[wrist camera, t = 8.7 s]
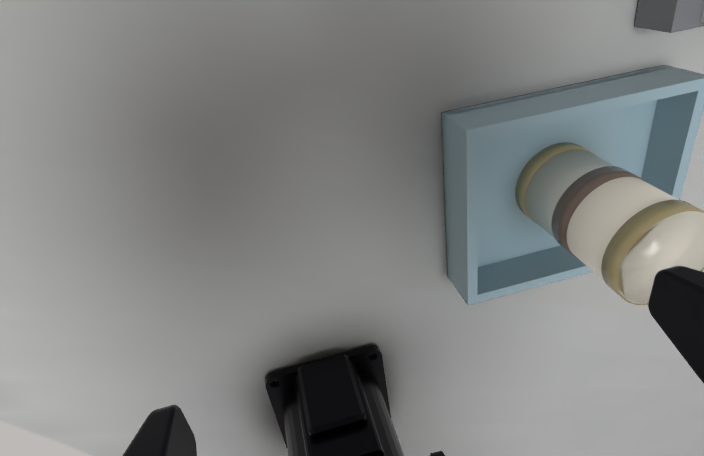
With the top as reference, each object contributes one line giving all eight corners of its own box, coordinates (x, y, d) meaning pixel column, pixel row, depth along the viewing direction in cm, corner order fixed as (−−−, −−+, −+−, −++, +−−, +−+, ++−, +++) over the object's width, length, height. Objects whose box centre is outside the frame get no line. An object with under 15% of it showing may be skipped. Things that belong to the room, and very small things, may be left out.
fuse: (586, 208, 24) (702, 289, 18) (513, 227, 24) (608, 316, 18) (597, 134, 22) (731, 197, 16) (517, 152, 22) (626, 225, 16)
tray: (630, 228, 26) (665, 251, 24) (447, 276, 25) (467, 305, 23) (664, 64, 22) (711, 76, 20) (441, 112, 20) (466, 130, 18)
